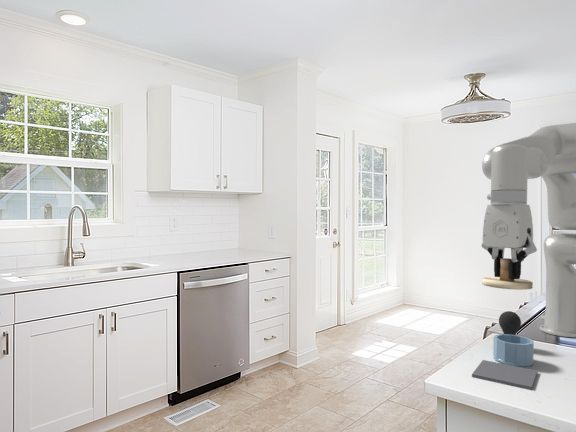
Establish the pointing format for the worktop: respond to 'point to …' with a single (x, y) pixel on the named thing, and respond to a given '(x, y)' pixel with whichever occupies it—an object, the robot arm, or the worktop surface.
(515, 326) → the light bulb
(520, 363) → the bowl
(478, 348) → the worktop surface
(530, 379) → the mat
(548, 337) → the worktop surface
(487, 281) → the lid
